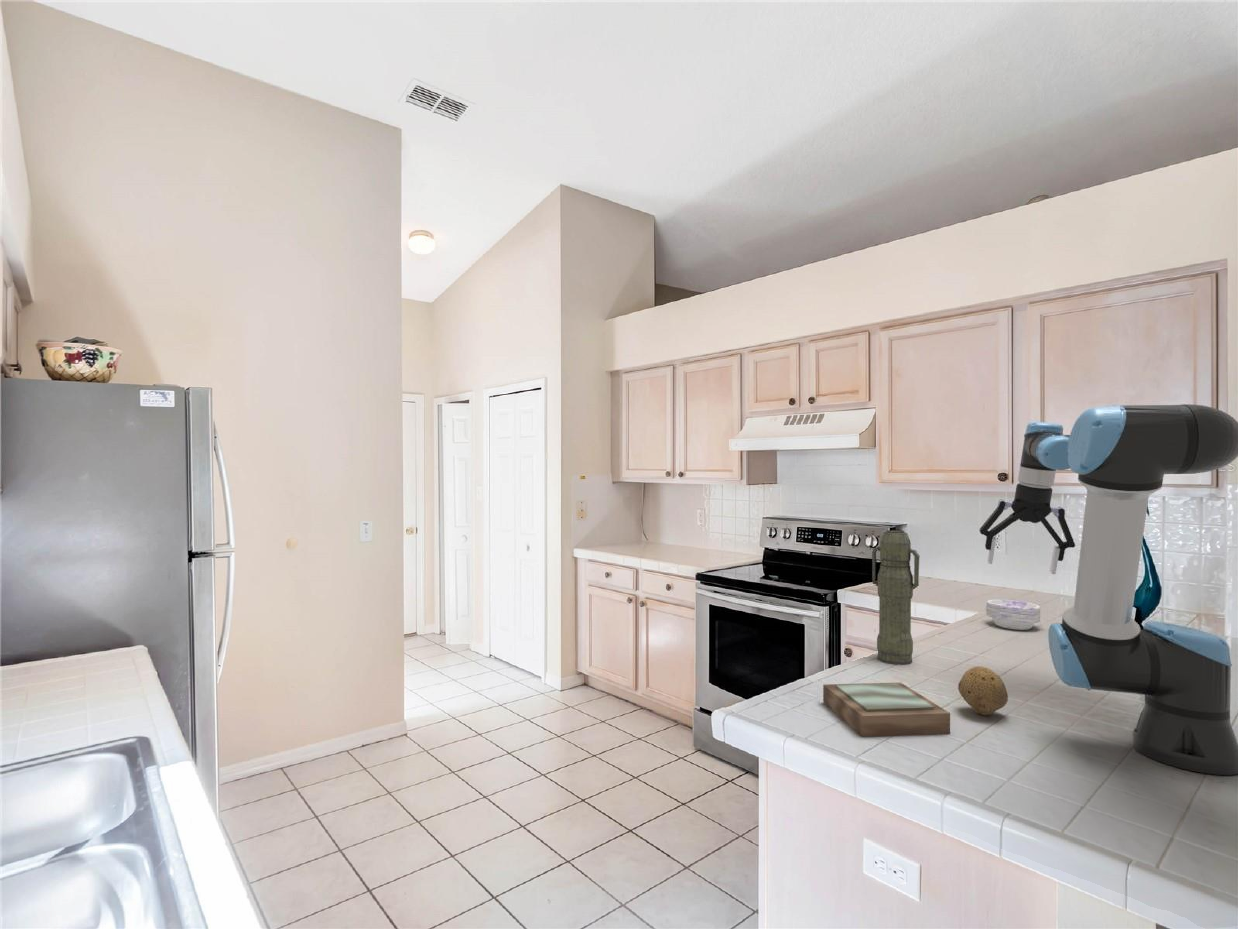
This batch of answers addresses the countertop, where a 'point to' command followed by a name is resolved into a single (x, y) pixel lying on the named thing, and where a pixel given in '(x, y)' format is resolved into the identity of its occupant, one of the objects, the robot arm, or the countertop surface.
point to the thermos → (895, 596)
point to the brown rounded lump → (983, 690)
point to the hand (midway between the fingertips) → (1020, 567)
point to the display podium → (885, 709)
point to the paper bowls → (1013, 614)
